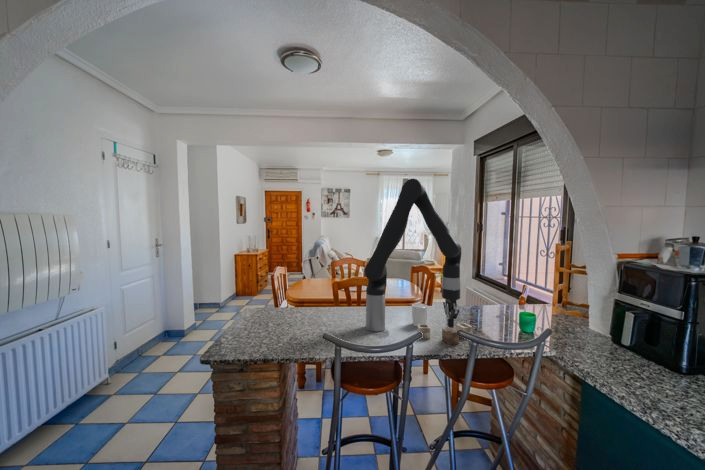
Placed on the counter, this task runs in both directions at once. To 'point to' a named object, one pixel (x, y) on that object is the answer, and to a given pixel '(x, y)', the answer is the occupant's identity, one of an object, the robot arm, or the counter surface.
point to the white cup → (419, 313)
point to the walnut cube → (450, 336)
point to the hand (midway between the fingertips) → (450, 326)
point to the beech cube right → (464, 327)
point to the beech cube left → (424, 330)
